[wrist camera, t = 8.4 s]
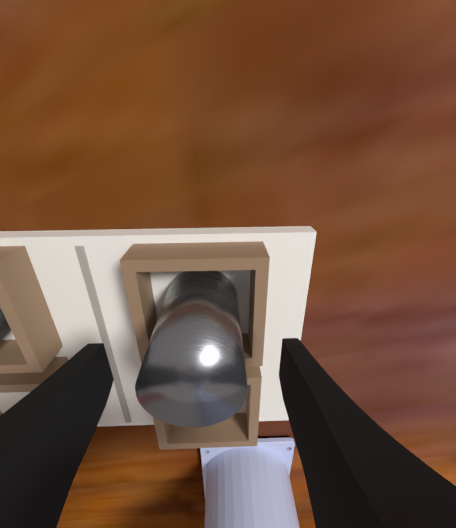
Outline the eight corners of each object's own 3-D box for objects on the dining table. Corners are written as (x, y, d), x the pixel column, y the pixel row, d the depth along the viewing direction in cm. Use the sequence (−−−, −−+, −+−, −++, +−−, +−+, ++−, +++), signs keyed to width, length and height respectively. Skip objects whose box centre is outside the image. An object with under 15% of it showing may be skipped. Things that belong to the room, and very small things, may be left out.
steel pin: (233, 328, 16) (241, 428, 10) (166, 325, 15) (138, 426, 10) (240, 270, 14) (255, 353, 8) (165, 265, 14) (130, 347, 8)
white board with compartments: (285, 407, 20) (315, 526, 14) (-22, 417, 20) (-133, 545, 14) (310, 225, 14) (384, 297, 8) (-147, 234, 13) (-468, 317, 7)
